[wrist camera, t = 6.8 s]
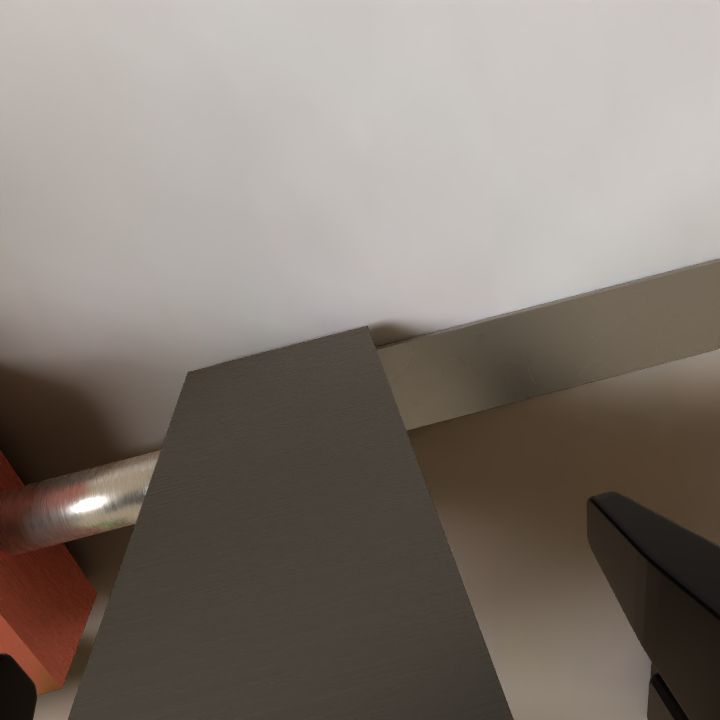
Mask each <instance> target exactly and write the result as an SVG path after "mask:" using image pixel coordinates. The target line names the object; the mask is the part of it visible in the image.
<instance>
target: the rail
mask: <svg viewBox="0 0 720 720" xmlns="http://www.w3.org/2000/svg"><path fill="white" fill-rule="evenodd" d="M719 340H720V259H716V260H712V261H708V262H704V263H701V264H697V265H693V266H689V267H685V268H681V269H677V270H673V271H669V272H666V273H662V274H658V275H654V276H650V277H646V278H642V279H638V280H635V281H631V282H627V283H623V284H619V285H615V286H611V287H607V288H604V289H600V290H596V291H592V292H588V293H584V294H580V295H576V296H573V297H569V298H565V299H561V300H557V301H553V302H549V303H545V304H542V305H538V306H534V307H530V308H526V309H522V310H518V311H514V312H511V313H507V314H503V315H499V316H495V317H491V318H487V319H483V320H479V321H476V322H472V323H468V324H464V325H460V326H456V327H452V328H448V329H445V330H441V331H437V332H433V333H429V334H425V335H421V336H417V337H414V338H410V339H406V340H402V341H398V342H394V343H390V344H386V345H383V346H379V347H376V350H377V353H378V356H379V358H380V361H381V364H382V366H383V369H384V372H385V374H386V377H387V380H388V382H389V385H390V388H391V391H392V393H393V396H394V399H395V401H396V404H397V407H398V409H399V412H400V415H401V418H402V420H403V423H404V426H405V428H406V430H410V429H414V428H418V427H422V426H426V425H429V424H433V423H437V422H441V421H445V420H449V419H452V418H456V417H460V416H464V415H468V414H472V413H475V412H479V411H483V410H487V409H491V408H495V407H498V406H502V405H506V404H510V403H514V402H517V401H521V400H525V399H529V398H533V397H537V396H540V395H544V394H548V393H552V392H556V391H560V390H563V389H567V388H571V387H575V386H579V385H583V384H586V383H590V382H594V381H598V380H602V379H606V378H609V377H613V376H617V375H621V374H625V373H629V372H632V371H636V370H640V369H644V368H648V367H652V366H655V365H659V364H663V363H667V362H671V361H675V360H678V359H682V358H686V357H690V356H694V355H698V354H701V353H705V352H709V351H713V350H717V349H718V348H719Z"/></svg>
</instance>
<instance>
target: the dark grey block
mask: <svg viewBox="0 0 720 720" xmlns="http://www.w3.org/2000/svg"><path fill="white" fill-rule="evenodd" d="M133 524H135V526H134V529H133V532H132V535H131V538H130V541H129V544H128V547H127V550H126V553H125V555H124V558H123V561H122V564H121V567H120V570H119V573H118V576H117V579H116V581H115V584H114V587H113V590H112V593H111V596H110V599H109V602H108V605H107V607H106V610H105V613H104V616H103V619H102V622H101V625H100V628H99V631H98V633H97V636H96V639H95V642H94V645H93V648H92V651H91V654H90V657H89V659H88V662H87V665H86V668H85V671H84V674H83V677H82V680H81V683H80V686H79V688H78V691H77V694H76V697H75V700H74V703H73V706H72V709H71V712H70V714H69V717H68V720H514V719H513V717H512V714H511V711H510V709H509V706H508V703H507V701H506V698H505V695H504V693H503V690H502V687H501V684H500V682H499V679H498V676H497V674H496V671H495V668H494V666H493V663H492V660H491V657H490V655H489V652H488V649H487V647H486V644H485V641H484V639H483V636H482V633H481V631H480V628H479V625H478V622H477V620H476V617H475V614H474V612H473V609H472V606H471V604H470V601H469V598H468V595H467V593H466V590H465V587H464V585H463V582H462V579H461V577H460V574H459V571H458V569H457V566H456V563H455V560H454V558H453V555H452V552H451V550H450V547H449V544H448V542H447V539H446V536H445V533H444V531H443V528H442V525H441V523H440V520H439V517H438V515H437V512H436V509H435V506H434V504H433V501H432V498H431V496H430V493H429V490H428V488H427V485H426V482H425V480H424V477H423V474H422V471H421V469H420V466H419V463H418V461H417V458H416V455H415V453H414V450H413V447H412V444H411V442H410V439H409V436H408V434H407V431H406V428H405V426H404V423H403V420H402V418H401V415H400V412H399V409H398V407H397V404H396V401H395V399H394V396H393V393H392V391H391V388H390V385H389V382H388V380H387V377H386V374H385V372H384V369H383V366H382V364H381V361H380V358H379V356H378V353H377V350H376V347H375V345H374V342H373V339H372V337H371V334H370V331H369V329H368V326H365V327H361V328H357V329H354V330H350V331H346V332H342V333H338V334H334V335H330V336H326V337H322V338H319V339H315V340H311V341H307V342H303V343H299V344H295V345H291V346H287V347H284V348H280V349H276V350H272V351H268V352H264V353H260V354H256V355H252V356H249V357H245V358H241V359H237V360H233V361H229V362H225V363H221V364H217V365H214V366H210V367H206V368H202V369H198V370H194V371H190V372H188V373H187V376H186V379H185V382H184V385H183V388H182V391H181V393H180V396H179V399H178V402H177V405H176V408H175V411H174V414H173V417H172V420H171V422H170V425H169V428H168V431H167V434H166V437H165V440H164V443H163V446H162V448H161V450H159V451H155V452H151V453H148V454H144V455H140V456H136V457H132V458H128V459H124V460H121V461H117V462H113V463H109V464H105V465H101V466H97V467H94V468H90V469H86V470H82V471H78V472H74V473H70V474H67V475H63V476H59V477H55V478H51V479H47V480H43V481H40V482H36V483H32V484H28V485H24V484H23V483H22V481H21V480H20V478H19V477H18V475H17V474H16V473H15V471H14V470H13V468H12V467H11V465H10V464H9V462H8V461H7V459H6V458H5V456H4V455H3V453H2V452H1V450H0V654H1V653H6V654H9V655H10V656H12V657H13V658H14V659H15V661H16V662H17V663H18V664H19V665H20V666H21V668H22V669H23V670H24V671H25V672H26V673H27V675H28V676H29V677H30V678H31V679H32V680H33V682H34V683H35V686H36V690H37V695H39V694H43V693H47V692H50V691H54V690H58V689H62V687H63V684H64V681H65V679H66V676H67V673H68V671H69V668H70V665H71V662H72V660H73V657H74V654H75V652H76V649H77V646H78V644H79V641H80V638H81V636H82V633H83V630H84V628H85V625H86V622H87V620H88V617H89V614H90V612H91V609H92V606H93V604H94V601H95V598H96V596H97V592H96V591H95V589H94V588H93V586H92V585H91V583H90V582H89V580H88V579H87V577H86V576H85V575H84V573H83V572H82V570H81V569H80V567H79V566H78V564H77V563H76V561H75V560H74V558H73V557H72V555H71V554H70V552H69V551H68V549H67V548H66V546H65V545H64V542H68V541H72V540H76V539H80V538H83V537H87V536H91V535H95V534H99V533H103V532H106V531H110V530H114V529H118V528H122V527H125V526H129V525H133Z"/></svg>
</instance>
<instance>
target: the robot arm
mask: <svg viewBox="0 0 720 720" xmlns="http://www.w3.org/2000/svg"><path fill="white" fill-rule="evenodd" d="M587 535H588V541H589V544H590V547H591V549H592V551H593V553H594V555H595V557H596V559H597V561H598V563H599V565H600V567H601V569H602V571H603V573H604V575H605V576H606V578H607V580H608V582H609V584H610V586H611V588H612V590H613V592H614V594H615V596H616V598H617V600H618V601H619V603H620V605H621V607H622V609H623V611H624V613H625V615H626V617H627V619H628V621H629V623H630V625H631V626H632V628H633V630H634V632H635V634H636V636H637V638H638V640H639V641H640V643H641V645H642V647H643V648H644V650H645V652H646V653H647V655H648V657H649V658H650V660H651V661H652V665H651V678H650V682H649V696H648V711H647V718H648V720H720V546H718V545H716V544H714V543H712V542H711V541H709V540H707V539H705V538H703V537H701V536H699V535H697V534H695V533H694V532H692V531H690V530H688V529H686V528H684V527H682V526H680V525H678V524H677V523H675V522H673V521H671V520H669V519H667V518H665V517H663V516H661V515H660V514H658V513H656V512H654V511H652V510H650V509H648V508H646V507H644V506H643V505H641V504H639V503H637V502H635V501H633V500H631V499H629V498H628V497H626V496H624V495H622V494H620V493H617V492H607V493H603V494H599V495H596V496H592V497H590V498H589V499H588V501H587ZM36 701H37V690H36V686H35V683H34V682H33V680H32V679H31V678H30V677H29V676H28V675H27V673H26V672H25V671H24V670H23V669H22V668H21V666H20V665H19V664H18V663H17V662H16V661H15V659H14V658H13V657H12V656H10V655H9V654H6V653H1V654H0V720H33V717H34V712H35V707H36Z"/></svg>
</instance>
